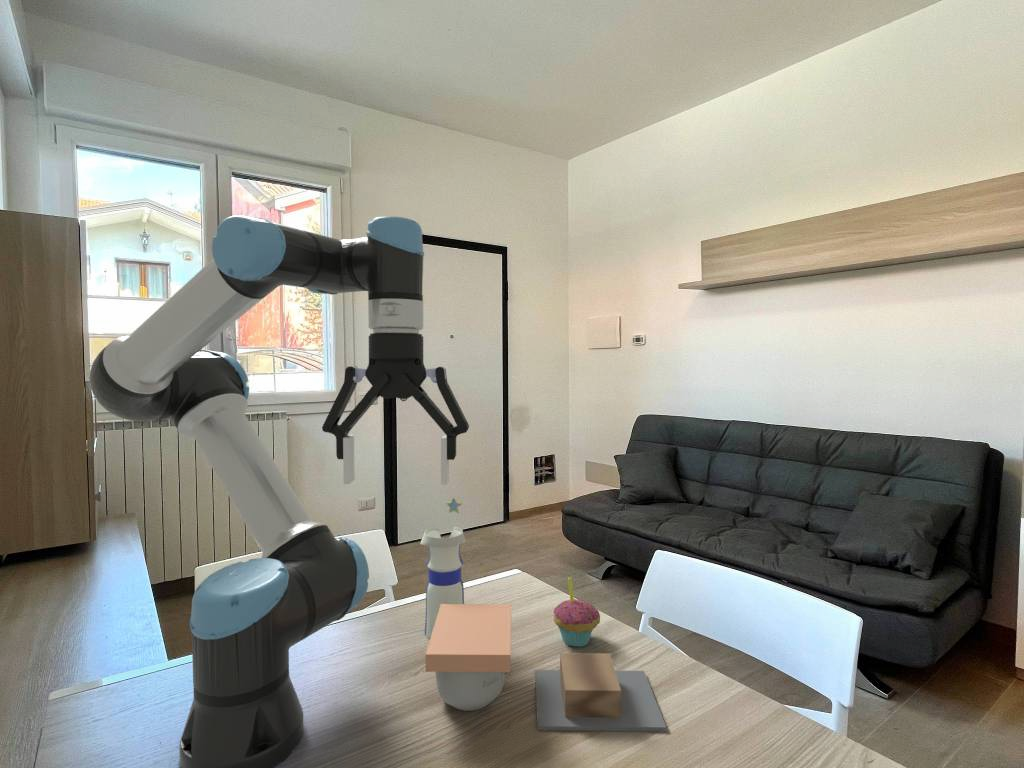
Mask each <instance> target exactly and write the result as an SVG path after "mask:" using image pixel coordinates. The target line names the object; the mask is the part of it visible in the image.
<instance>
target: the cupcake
mask: <svg viewBox="0 0 1024 768" xmlns="http://www.w3.org/2000/svg"><path fill="white" fill-rule="evenodd" d="M567 574H568V575H567V576H568V577H567V581H568V591H569V599H567V600H565V601H562V602H561V603H559V604H558V605H556V607H554V609H553V621H554V624H555V625H556V626H557V628H558V630H559V632H560V634H561V638H562V639H561V640H562V641H563V643H565V644H566V645H568V646H571V647H576V646H578V647H583V646H586V645H588V643H589V642H590V638H591V635H592V632H593V631H594V629H595V628H597V626H598V625H599V624H600V623H601V614H600V612H599V611H598V609H597V608H596V607H595V606H594V605H592V604H591V603H589V602H587V601H586V600H581V599H575V597H574V590H573V582H572V581H573V580H572V577H571V575H570V573H569V572H568V573H567Z"/></svg>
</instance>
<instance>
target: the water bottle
mask: <svg viewBox="0 0 1024 768" xmlns="http://www.w3.org/2000/svg"><path fill="white" fill-rule="evenodd" d="M445 504H446V505H447V506H448V507H449V509H448V510H449V511H448V513H452V512H455V513H457V514H459V513H460V511H459V507H460V506H461V505H463V503H461V502H457V500H456V498H455V497H452V500H451V501H448V502H445ZM441 536H442V535H441V533H440V531H439V528H437V527H429V528H428V529H425V530H424V532H423V536H422V538H421V540H420V545H422V546H426V547H428V550H429V555H428V556H429V557H428V558H427V561H426V564H425V565H426V567H427V568H428V569H427V571H428V572H427V573H428V574H427V575H428V578H427V579H428V580H427V583H426V588H425V620H424V621H425V623H424V624H425V625H424V635H425V637H426V638H427V639H429V640H430V638H431V635H432V631H433V628H434V625H435V621H436V618H437V615H438V612H439V608H440V605H441V604H465V591H464V589H465V588H464V582H463V579H462V566H463V565H464V559H462V557H461V545H462V544H466V543H467V541H466V538H465V534H464V531H463V529H462V528H460V527H458V526H454V527H453V528H452V530H451V533H450V535H449V537H441Z"/></svg>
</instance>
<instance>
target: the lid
mask: <svg viewBox="0 0 1024 768" xmlns="http://www.w3.org/2000/svg"><path fill="white" fill-rule="evenodd" d="M425 651H426V652H425V656H424V657H425V672H431V673H432V672H434V673H435V672H504V673H511V666H512V665H511V663H512V661H511V659H512V656H511V655H512V652H511V651H512V604H511V603H510V604H509V603H508V604H507V603H504V604H503V603H498V604H497V603H496V604H495V603H492V604H491V603H464V604H441V605H440V608H439V612H438V615H437V618H436V621H435V625H434V628H433V631H432V635H431V638H430V639H429V641H428V644H427V647H426V650H425Z"/></svg>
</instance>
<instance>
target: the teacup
mask: <svg viewBox="0 0 1024 768" xmlns="http://www.w3.org/2000/svg"><path fill="white" fill-rule="evenodd" d="M434 673H435V674H434V675H435V681H436V688H437V690H438V691H437V692H438V694H439V696H440V698H441V699H442V700H443V701H444V702H445V703H446V704H448V705H449V706H452V707H454V708H455V709H457V710H461V711H466V712H472V711H477V710H480V709H483V708H485V707H487V706H488V705H490V703H492V702H493V701H494V700H496V699H497V697H498V696H499V695H500V693H501V692H502V689H503V687H504V683H505V672H434Z"/></svg>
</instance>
